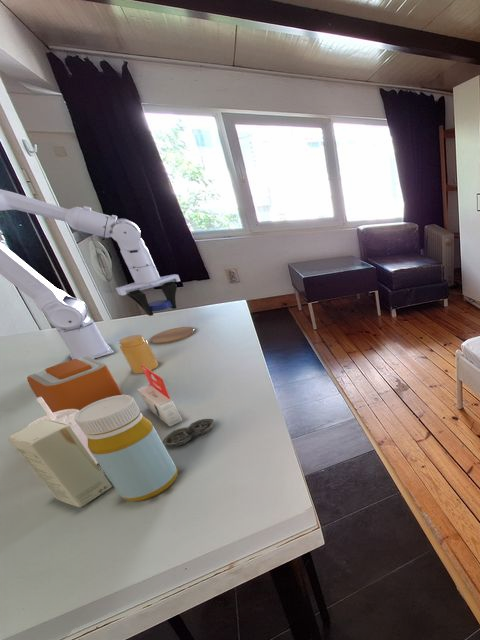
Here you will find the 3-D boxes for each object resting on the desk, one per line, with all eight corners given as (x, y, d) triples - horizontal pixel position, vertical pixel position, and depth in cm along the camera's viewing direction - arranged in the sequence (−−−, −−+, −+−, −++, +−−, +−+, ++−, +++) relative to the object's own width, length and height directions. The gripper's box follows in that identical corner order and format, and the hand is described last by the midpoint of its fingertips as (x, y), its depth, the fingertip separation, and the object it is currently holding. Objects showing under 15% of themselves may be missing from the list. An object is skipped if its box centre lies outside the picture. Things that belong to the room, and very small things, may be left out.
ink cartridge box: (169, 427, 70) (147, 384, 65) (148, 409, 76) (126, 369, 71) (184, 420, 72) (163, 378, 67) (162, 403, 77) (141, 363, 73)
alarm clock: (142, 420, 72) (109, 361, 66) (88, 447, 66) (45, 384, 59) (109, 402, 79) (76, 346, 73) (56, 425, 72) (14, 366, 66)
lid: (154, 312, 103) (151, 307, 102) (144, 309, 106) (142, 304, 105) (176, 306, 107) (174, 300, 107) (166, 303, 110) (164, 298, 109)
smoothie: (77, 483, 58) (25, 412, 52) (47, 478, 59) (-8, 408, 53) (119, 454, 64) (76, 387, 57) (90, 451, 65) (45, 384, 58)
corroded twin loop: (219, 429, 69) (217, 424, 68) (169, 452, 63) (166, 448, 63) (210, 419, 72) (208, 414, 71) (161, 441, 66) (159, 436, 66)
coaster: (146, 337, 110) (145, 336, 110) (188, 325, 118) (187, 324, 118) (156, 346, 104) (156, 345, 104) (200, 333, 111) (199, 332, 111)
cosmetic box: (114, 487, 57) (72, 424, 51) (80, 509, 53) (31, 445, 48) (88, 478, 59) (45, 417, 53) (54, 499, 55) (4, 436, 50)
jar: (130, 369, 92) (114, 340, 88) (154, 361, 96) (140, 332, 92) (136, 375, 89) (120, 344, 85) (161, 366, 93) (147, 336, 89)
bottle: (144, 471, 60) (98, 395, 53) (188, 467, 60) (148, 391, 53) (111, 506, 54) (54, 425, 47) (160, 501, 54) (111, 420, 47)
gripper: (115, 273, 93) (139, 322, 100) (177, 260, 105) (195, 305, 111) (103, 271, 97) (127, 318, 103) (165, 258, 108) (183, 302, 114)
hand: (162, 311), depth 107 cm, fingers closed on lid, 5 cm apart
